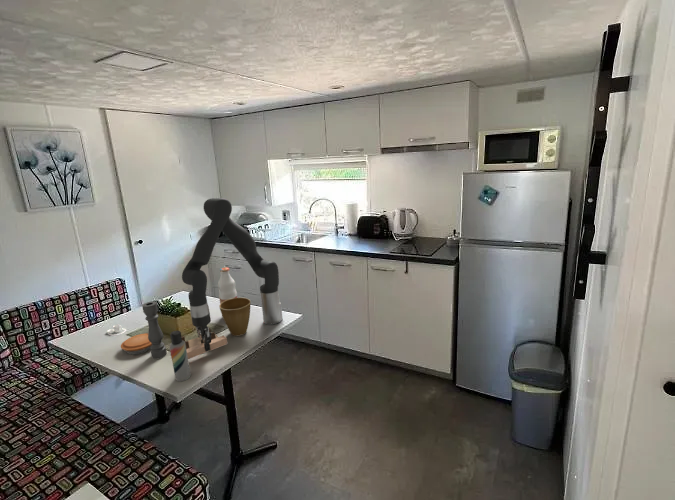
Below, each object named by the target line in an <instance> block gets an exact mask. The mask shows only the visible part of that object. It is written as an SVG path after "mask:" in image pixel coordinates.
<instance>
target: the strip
mask: <svg viewBox="0 0 675 500" xmlns="http://www.w3.org/2000/svg"><path fill="white" fill-rule="evenodd" d="M226 345H228V338H227V337H226V336H225V335H221V336H218V338H215V339H212V340H211V343H210V349H211V350H210V351H213V350H215V349H218V348H220V347H223V346H226ZM186 350H187V356H188V360H191V359H192V358H196V357H197V356H200V355H202V354H205V353H208V352H210V351H207V352H206V351H205V347H204V343H202V344H199V345H196V346H194V347H191V348H188V349H186Z"/></svg>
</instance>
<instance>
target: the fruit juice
mask: <svg viewBox="0 0 675 500" xmlns="http://www.w3.org/2000/svg"><path fill="white" fill-rule="evenodd" d="M219 273H220V278H219V279H218V283H217V288H218V290H219V291H218V299H219V305H220V304H221V303H222V302H224V301H226V300H228V299H232V298H238V292H237V289H236V281H235V280H234V278H233V277H232V276H231V274H230V267H221V268H219ZM221 317H222V319H223V316H222V315H221Z"/></svg>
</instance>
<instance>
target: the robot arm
mask: <svg viewBox="0 0 675 500" xmlns="http://www.w3.org/2000/svg"><path fill="white" fill-rule="evenodd" d="M232 207H233V205H232V203H231V202H230V201H229V199H227V198H222V197H219V198H217V197H216V198H208V199H207V200H205V201H204V203H203V211H204V213H205V215H206V217H207V218H208V219H209V220H210V221H211V222H210V224H209V225H208V227H207V229H206V230H205V232H203V234H202V236H201V237H200V238H199V240H198V242H197V243H196V246H195V248H194V250H193V254H192V256H191V258H190V260H189V261H188V262H187V263H186V265H185V267H184V269H183V270H182V274H181V280H182V282H183V283H184V284H185V285H188V286H192V290H191V291H189V292H188V301H189V310H190V312H189V313H190V316H191V323H192V326H194V327H195V329H196V330H195V331H196V333H197V338H198V337H200V340H201V344H202V343H204V347H205V351H206V352H205V353H208V352H210V350H211V349H210V343H211V332H212V331H211V332H209V328H210V327H209V326H208V325H209V324H210V323H211V322H212V320H211V313H210V308H209V304H208V299H207V298H208V297H207V293H206V292H207V287H208V286H207V285H208V277H207V274H206V273H205V271H204V270H202V269H201V268H202V267H203V266H206V265H208V264H209V262H210V259H211V257H212V255H213V251H214V249H215V246H216V244H217V242H218V239H219V236H220V235H221V234H222V233H223V234H224V235H225V237H226V238H227V239H228V240H229V241H230V243H231V244H232V245H233V247H234V248H235V249H236V250H237V251H238V252H239V254H240V255H241V256H242V257H243V259H244V260H246V262H247V263H248V264H249V266H250V268H251V269H252V270H253V272H254V274H255V275H256V276H257V277H259V278H262V279H264V283H263V284H261V285H260V287H259V295H260V300H261V310H262V319H263V323H264V324H265V325H269V326H270V325H276V324H279V323H281V322H282V321H283V310H282V303H281V302H280V295H279V284H280V277H279V275H280V274H279V273H280V272H279V267H278V265H277V263H276V262H274V261H269V260H266V259H264V258H263V257H262V256H261V255H260V254H259V252H258V250H257V243H256V240H255V239H254V238H253V236H252V235H251V234H250V232H249V231H248V230H246V228H245V227H243V226H241V225H240V224H238V223H237V222H236V221H234V220H233V219H232V218H231V217H230V216H231V214H232V210H233V208H232ZM207 351H208V352H207ZM211 351H212V350H211Z"/></svg>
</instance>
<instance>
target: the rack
mask: <svg viewBox="0 0 675 500" xmlns="http://www.w3.org/2000/svg"><path fill="white" fill-rule="evenodd" d="M209 332H211V340H212V339H215V338H218V337H219V336H218V335H217V334H216V332H215V331H212V329H211V327H209ZM181 337H182V340H183V341H185V345H186V349H188V348H191V347H194V346H196V345H199V344H201V340H200V337H198V336H197V337H195V338H192V339H189V340H186V337H185V335H183V336H182V335H181Z"/></svg>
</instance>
